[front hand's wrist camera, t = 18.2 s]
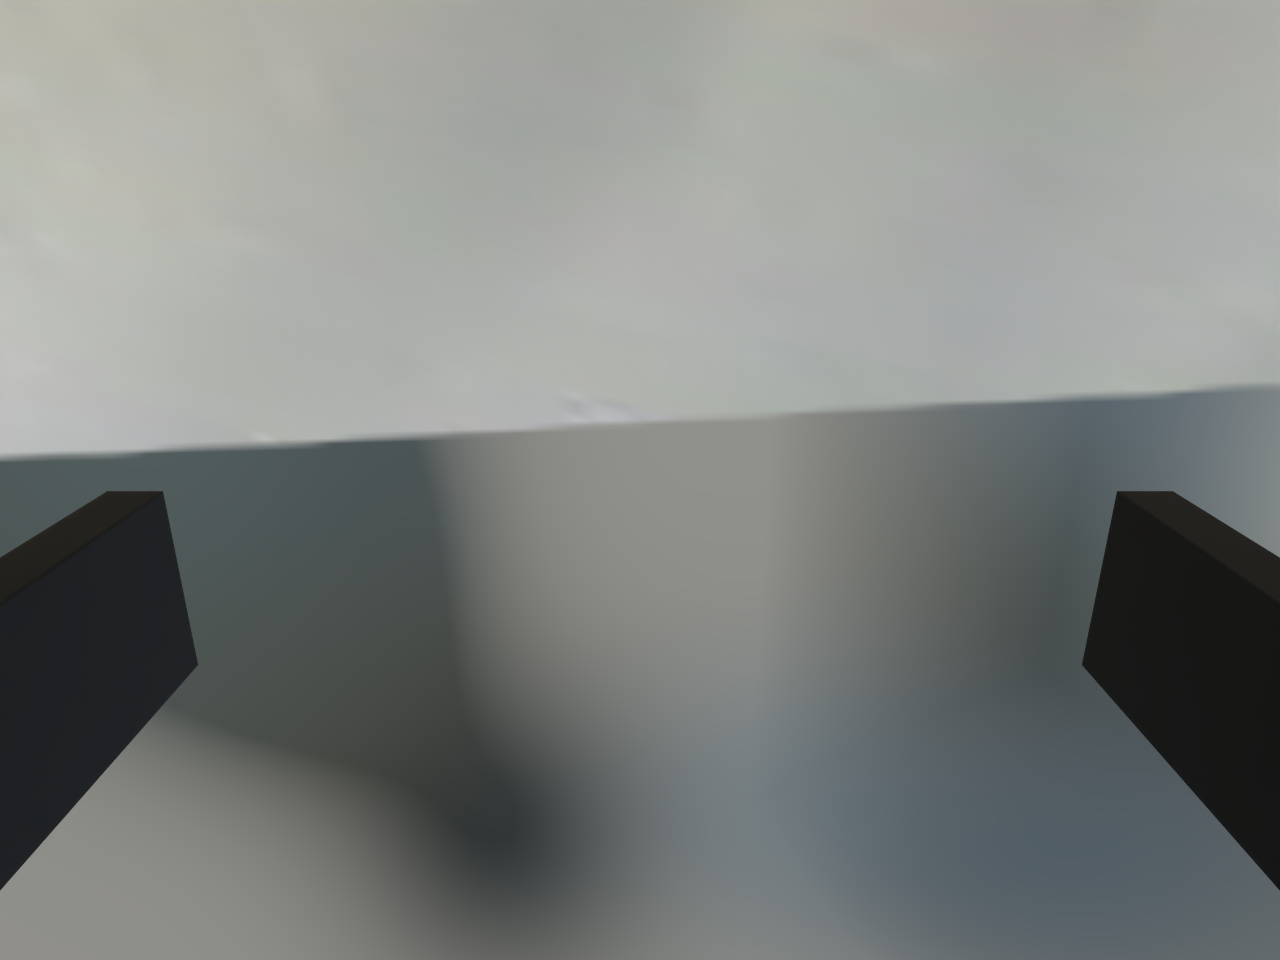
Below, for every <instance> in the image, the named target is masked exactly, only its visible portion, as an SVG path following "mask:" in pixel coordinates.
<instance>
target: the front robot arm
mask: <svg viewBox="0 0 1280 960" xmlns="http://www.w3.org/2000/svg"><path fill="white" fill-rule="evenodd" d="M197 665H198V663H197V658H196V653H195V648H194V643H193V638H192V633H191V628H190V623H189V618H188V613H187V608H186V603H185V598H184V593H183V588H182V584H181V579H180V574H179V569H178V564H177V559H176V554H175V549H174V544H173V539H172V534H171V529H170V524H169V519H168V514H167V509H166V505H165V500H164V494H163V492H162V491H107V492H105V493H104V494H102V495H101V496H99V497H97V498H96V499H94V500H92V501H91V502H89V503H88V504H86V505H84V506H83V507H81V508H80V509H78V510H76V511H75V512H73V513H72V514H70V515H68V516H67V517H65V518H63V519H62V520H60V521H59V522H57V523H55V524H54V525H52V526H51V527H49V528H47V529H46V530H44V531H43V532H41V533H39V534H38V535H36V536H34V537H33V538H31V539H30V540H28V541H26V542H25V543H23V544H22V545H20V546H18V547H17V548H15V549H14V550H12V551H10V552H9V553H7V554H6V555H4V556H2V557H1V558H0V890H1V889H2V888H3V887H4V885H5V884H6V883H7V882H8V881H9V880H10V879H11V877H12V876H13V875H14V874H15V873H16V872H17V871H18V870H19V868H20V867H21V866H22V865H23V864H24V863H25V862H26V860H27V859H28V858H29V857H30V856H31V855H32V854H33V852H34V851H35V850H36V849H37V848H38V847H39V846H40V844H41V843H42V842H43V841H44V840H45V839H46V838H47V836H48V835H49V834H50V833H51V832H52V831H53V830H54V828H55V827H56V826H57V825H58V824H59V823H60V822H61V820H62V819H63V818H64V817H65V816H66V815H67V814H68V813H69V811H70V810H71V809H72V808H73V807H74V806H75V805H76V803H77V802H78V801H79V800H80V799H81V798H82V796H83V795H84V794H85V793H86V792H87V791H88V790H89V789H90V787H91V786H92V785H93V784H94V783H95V782H96V781H97V779H98V778H99V777H100V776H101V775H102V774H103V773H104V771H105V770H106V769H107V768H108V767H109V766H110V765H111V763H112V762H113V761H114V760H115V759H116V758H117V757H118V755H119V754H120V753H121V752H122V751H123V750H124V749H125V748H126V746H127V745H128V744H129V743H130V742H131V741H132V739H133V738H134V737H135V736H136V735H137V734H138V733H139V732H140V730H141V729H142V728H143V727H144V726H145V725H146V724H147V722H148V721H149V720H150V719H151V718H152V717H153V716H154V714H155V713H156V712H157V711H158V710H159V709H160V708H161V706H162V705H163V704H164V703H165V702H166V701H167V700H168V698H169V697H170V696H171V695H172V694H173V693H174V692H175V690H176V689H177V688H178V687H179V686H180V685H181V684H182V682H183V681H184V680H185V679H186V678H187V677H188V676H189V675H190V673H191V672H192V671H193V670H194V669H195V668H196V666H197ZM1082 665H1083V667H1084V668H1085V669H1086V670H1087V671H1088V672H1089V673H1090V675H1091V676H1092V677H1093V678H1094V679H1095V680H1096V681H1097V683H1098V684H1099V685H1100V686H1101V687H1102V688H1103V689H1104V690H1105V692H1106V693H1107V694H1108V695H1109V696H1110V697H1111V698H1112V700H1113V701H1114V702H1115V703H1116V704H1117V705H1118V706H1119V708H1120V709H1121V710H1122V711H1123V712H1124V713H1125V714H1126V716H1127V717H1128V718H1129V719H1130V720H1131V721H1132V722H1133V723H1134V725H1135V726H1136V727H1137V728H1138V729H1139V730H1140V732H1141V733H1142V734H1143V735H1144V736H1145V737H1146V738H1147V740H1148V741H1149V742H1150V743H1151V744H1152V745H1153V746H1154V747H1155V749H1156V750H1157V751H1158V752H1159V753H1160V754H1161V755H1162V757H1163V758H1164V759H1165V760H1166V761H1167V762H1168V763H1169V765H1170V766H1171V767H1172V768H1173V769H1174V770H1175V771H1176V772H1177V774H1178V775H1179V776H1180V777H1181V778H1182V779H1183V781H1184V782H1185V783H1186V784H1187V785H1188V786H1189V787H1190V789H1191V790H1192V791H1193V792H1194V793H1195V794H1196V795H1197V796H1198V798H1199V799H1200V800H1201V801H1202V802H1203V803H1204V805H1205V806H1206V807H1207V808H1208V809H1209V810H1210V811H1211V813H1212V814H1213V815H1214V816H1215V817H1216V818H1217V819H1218V820H1219V822H1220V823H1221V824H1222V825H1223V826H1224V827H1225V828H1226V830H1227V831H1228V832H1229V833H1230V834H1231V835H1232V836H1233V838H1234V839H1235V840H1236V841H1237V842H1238V843H1239V844H1240V846H1241V847H1242V848H1243V849H1244V850H1245V851H1246V852H1247V854H1248V855H1249V856H1250V857H1251V858H1252V859H1253V860H1254V862H1255V863H1256V864H1257V865H1258V866H1259V867H1260V868H1261V870H1262V871H1263V872H1264V873H1265V874H1266V875H1267V876H1268V877H1269V879H1270V880H1271V881H1272V882H1273V883H1274V884H1275V885H1276V887H1277V888H1278V889H1279V890H1280V558H1279V557H1278V556H1276V555H1275V554H1273V553H1271V552H1270V551H1268V550H1266V549H1265V548H1263V547H1262V546H1260V545H1258V544H1257V543H1255V542H1254V541H1252V540H1250V539H1249V538H1247V537H1246V536H1244V535H1242V534H1241V533H1239V532H1237V531H1236V530H1234V529H1233V528H1231V527H1229V526H1228V525H1226V524H1225V523H1223V522H1221V521H1220V520H1218V519H1216V518H1215V517H1213V516H1212V515H1210V514H1208V513H1207V512H1205V511H1204V510H1202V509H1200V508H1199V507H1197V506H1196V505H1194V504H1192V503H1191V502H1189V501H1187V500H1186V499H1184V498H1183V497H1181V496H1179V495H1178V494H1176V493H1175V492H1173V491H1117V495H1116V500H1115V504H1114V509H1113V514H1112V519H1111V524H1110V529H1109V534H1108V539H1107V544H1106V549H1105V554H1104V559H1103V564H1102V569H1101V574H1100V579H1099V583H1098V588H1097V593H1096V598H1095V603H1094V608H1093V613H1092V618H1091V623H1090V628H1089V633H1088V638H1087V643H1086V648H1085V653H1084V658H1083V663H1082Z"/></svg>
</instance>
